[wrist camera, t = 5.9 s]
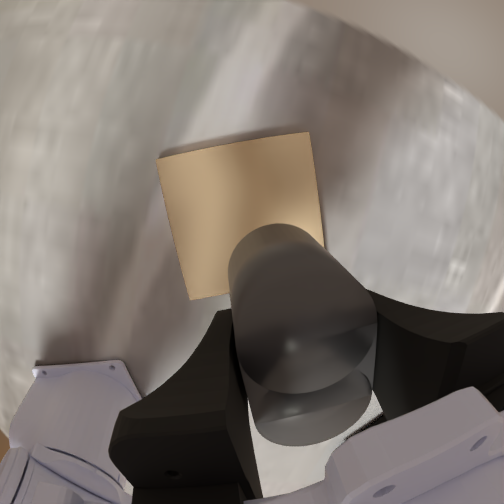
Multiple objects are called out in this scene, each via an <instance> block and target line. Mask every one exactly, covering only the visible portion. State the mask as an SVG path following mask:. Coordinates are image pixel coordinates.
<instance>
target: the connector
mask: <svg viewBox="0 0 504 504" xmlns="http://www.w3.org/2000/svg"><path fill="white" fill-rule="evenodd" d="M228 282H229V291H230V300H231V309H232V318H233V327H234V335H235V344H236V351H237V357H238V361H239V365H240V369H241V373H242V377H243V381H244V385H245V389H246V393H247V397H248V400H249V404H250V408H251V412H252V416H253V419H254V423H255V426H256V429H257V430H258V432H259V433H260V434H261V435H262V436H263V437H264V438H266V439H267V440H269V441H271V442H273V443H276V444H279V445H284V446H307V445H312V444H317V443H320V442H323V441H326V440H329V439H331V438H333V437H335V436H337V435H339V434H341V433H343V432H344V431H346V430H347V429H348V428H350V427H351V426H352V425H353V424H355V423H356V422H357V421H358V420H359V418H360V417H361V416H362V415H363V414H364V412H365V411H366V409H367V407H368V405H369V403H370V400H371V395H372V387H373V377H374V367H375V354H376V339H377V311H376V307H375V304H374V301H373V299H372V297H371V296H370V294H369V293H368V291H367V290H366V289H365V288H364V287H363V286H362V285H361V284H360V283H359V282H358V281H357V280H356V279H355V278H354V277H353V276H352V275H351V274H350V273H349V272H348V271H347V270H346V269H345V268H344V267H343V266H342V265H341V264H340V263H339V262H338V261H337V260H336V259H335V258H334V257H333V256H332V255H331V254H330V253H329V252H328V251H327V250H326V249H325V248H324V247H323V246H322V245H320V244H319V243H318V242H317V241H316V240H315V239H314V238H313V237H312V236H311V235H310V234H309V233H307V232H306V231H304V230H303V229H301V228H299V227H297V226H294V225H290V224H284V223H275V224H269V225H265V226H262V227H259V228H257V229H255V230H253V231H251V232H250V233H248V234H247V235H246V236H245V237H244V238H243V239H241V241H240V242H239V243H238V244H237V245H236V247H235V249H234V250H233V252H232V255H231V257H230V260H229V264H228Z"/></svg>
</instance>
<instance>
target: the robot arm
mask: <svg viewBox="0 0 504 504" xmlns="http://www.w3.org/2000/svg"><path fill="white" fill-rule="evenodd" d="M366 290H367V289H366ZM367 291H368V293H369V294H370V296H371V297H372V299H373V301H374V304H375V307H376V311H377V339H376V354H375V367H374V377H373V387H372V390H373V391H374V393H375V395H376V397H377V399H378V401H379V404H380V406H381V408H382V410H383V412H384V415H385V417H386V419H387V422H384V423H381V424H379V425H376V426H373V427H370V428H368V429H366V430H364V431H362V432H360V433H358V434H356V435H354V436H352V437H350V438H349V439H347V440H346V441H345V442H344V443H342V444H341V445H340V446H339V447H338V448H336V449H335V450H334V451H333V452H332V454H331V456H330V458H329V460H328V462H327V464H326V466H325V479H324V480H322V481H320V482H317V483H315V484H312V485H310V486H307V487H305V488H302V489H299V490H297V491H294V492H291V493H288V494H283V495H278V496H273V497H267V498H263V495H262V490H261V485H260V480H259V475H258V470H257V464H256V459H255V454H254V448H253V442H252V437H251V431H250V425H249V415H248V397H247V393H246V389H245V385H244V381H243V377H242V373H241V369H240V365H239V361H238V357H237V351H236V344H235V335H234V327H233V318H232V309H226V310H220V311H217V313H216V314H215V316H214V318H213V320H212V322H211V324H210V326H209V328H208V330H207V332H206V334H205V335H204V337H203V339H202V341H201V342H200V344H199V345H198V347H197V348H196V349H195V351H194V352H193V354H192V355H191V356H190V358H189V359H188V360H187V361H186V363H185V364H184V365H183V366H182V367H181V368H180V369H179V370H178V371H177V372H176V373H175V374H174V375H173V376H172V377H170V378H169V379H168V380H167V381H166V382H165V383H164V384H162V385H161V386H160V387H159V388H157V389H156V390H155V391H153V392H152V393H150V394H149V395H147V396H146V397H144V398H143V399H142V398H141V396H140V394H139V392H138V390H137V388H136V386H135V384H134V382H133V380H132V378H131V376H130V374H129V372H128V370H127V368H126V366H125V364H124V363H123V362H122V361H120V360H109V361H99V362H89V363H77V364H65V365H50V366H35V367H33V369H32V372H33V374H34V376H35V378H36V379H35V381H34V383H33V384H32V386H31V388H30V389H29V391H28V393H27V394H26V396H25V398H24V399H23V401H22V403H21V405H20V406H19V408H18V410H17V412H16V414H15V415H14V417H13V419H12V422H11V425H10V430H9V442H10V447H11V448H10V449H9V450H8V451H7V453H6V454H5V456H4V458H3V460H2V461H1V463H0V504H504V313H503V312H497V313H483V314H462V313H449V312H441V311H435V310H429V309H425V308H420V307H416V306H412V305H408V304H405V303H402V302H399V301H396V300H393V299H390V298H388V297H385V296H382V295H380V294H377V293H375V292H372V291H370V290H367ZM111 365H112V366H114V367H115V368H114V367H111ZM45 371H46V372H45ZM126 479H127V480H128V481H129V482H130V483H131V485H132V486H133V487H134V488H133V495H132V496H131V495H129V494H128V493H126V492H124V490H125V484H126Z"/></svg>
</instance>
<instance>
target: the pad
mask: <svg viewBox="0 0 504 504" xmlns="http://www.w3.org/2000/svg"><path fill="white" fill-rule="evenodd" d="M156 164H157V169H158V174H159V179H160V183H161V188H162V192H163V197H164V201H165V206H166V210H167V214H168V219H169V223H170V227H171V231H172V235H173V239H174V243H175V247H176V251H177V255H178V259H179V262H180V266H181V270H182V274H183V277H184V281H185V285H186V288H187V292H188V295H189V299H190V301H191V300H196V299H201V298H206V297H212V296H217V295H222V294H227V293H230V291H229V282H228V264H229V260H230V257H231V255H232V252H233V250H234V249H235V247H236V245H237V244H238V243H239V242H240V241H241V239H243V238H244V237H245V236H246V235H247V234H248V233H250V232H251V231H253V230H255V229H257V228H259V227H262V226H265V225H269V224H275V223H284V224H290V225H294V226H297V227H299V228H301V229H303V230H304V231H306V232H307V233H309V234H310V235H311V236H312V237H313V238H314V239H315V240H316V241H317V242H318V243H319V244H320V245H322V246H323V247H324V241H323V232H322V223H321V214H320V205H319V197H318V189H317V182H316V175H315V167H314V160H313V154H312V147H311V141H310V134H309V132H302V133H294V134H286V135H279V136H272V137H266V138H259V139H253V140H247V141H241V142H236V143H230V144H225V145H220V146H214V147H209V148H204V149H200V150H195V151H190V152H186V153H181V154H177V155H173V156H168V157H164V158H160V159H156Z"/></svg>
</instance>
